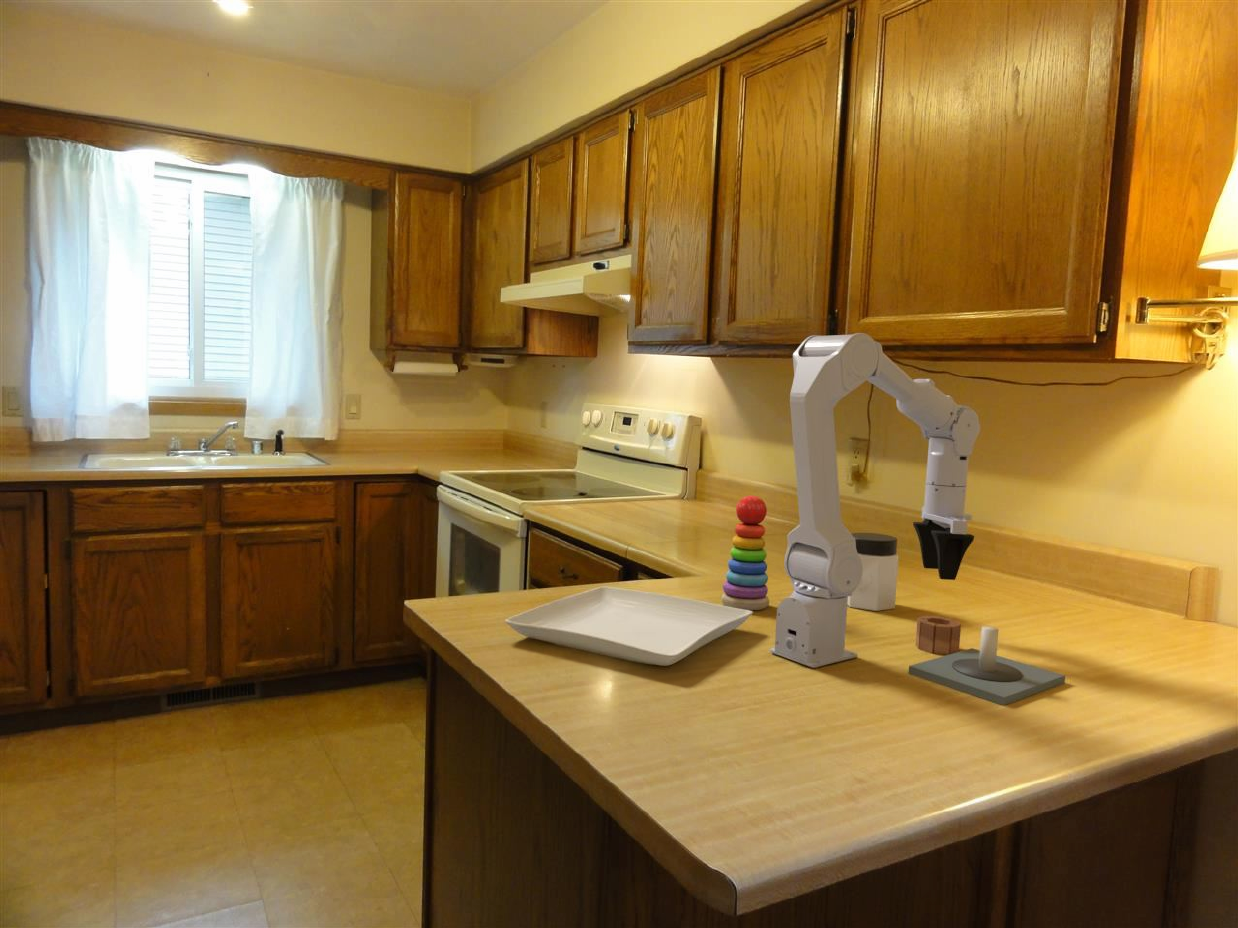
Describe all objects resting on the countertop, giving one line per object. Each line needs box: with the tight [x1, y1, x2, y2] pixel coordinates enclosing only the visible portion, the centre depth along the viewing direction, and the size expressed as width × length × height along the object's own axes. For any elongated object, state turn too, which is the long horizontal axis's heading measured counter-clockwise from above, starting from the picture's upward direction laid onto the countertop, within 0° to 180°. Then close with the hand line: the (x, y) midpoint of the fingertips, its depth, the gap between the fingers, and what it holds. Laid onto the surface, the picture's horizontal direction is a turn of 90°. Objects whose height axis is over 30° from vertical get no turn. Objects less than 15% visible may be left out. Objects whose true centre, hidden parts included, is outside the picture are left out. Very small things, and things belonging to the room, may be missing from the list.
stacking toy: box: [721, 495, 770, 612], centre depth 141 cm, size 8×8×19 cm
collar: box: [915, 615, 962, 656], centre depth 122 cm, size 6×6×4 cm
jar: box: [847, 532, 899, 612], centre depth 146 cm, size 9×8×12 cm
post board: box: [908, 626, 1066, 706], centre depth 110 cm, size 15×13×7 cm
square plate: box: [504, 585, 754, 667], centre depth 123 cm, size 27×27×4 cm
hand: (938, 573), depth 128 cm, fingers open, 7 cm apart
